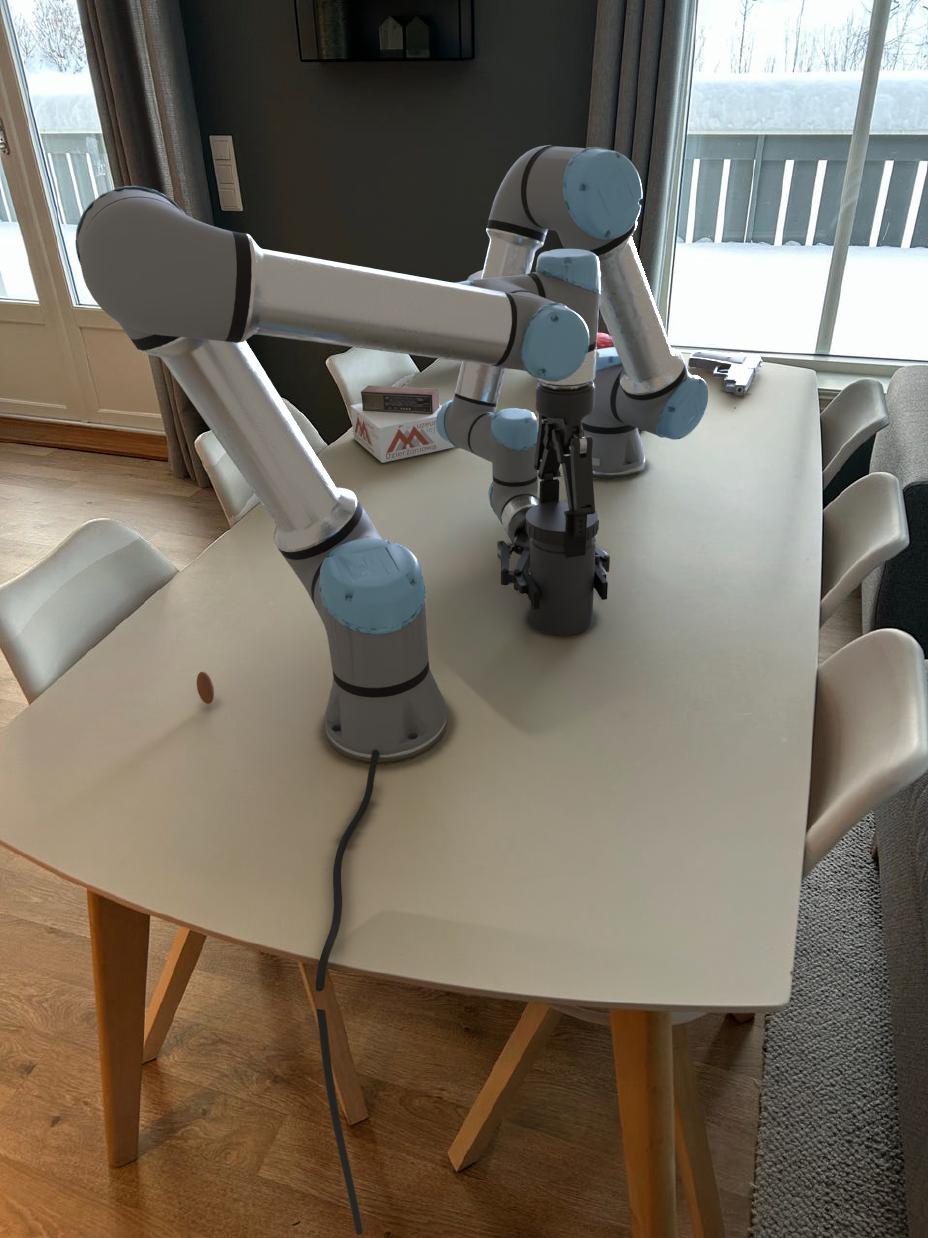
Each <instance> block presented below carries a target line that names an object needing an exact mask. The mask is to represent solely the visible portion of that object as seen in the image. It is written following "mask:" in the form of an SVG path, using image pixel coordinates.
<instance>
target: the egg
mask: <svg viewBox="0 0 928 1238" xmlns="http://www.w3.org/2000/svg"><path fill="white" fill-rule="evenodd" d="M196 689H197V694H198V695H199V698H200V700H201V701H202V702H203V703H204V704H206V705H210V704H211V703H212V702H213V701H214V699H215V688H214V683H213V680H212V679H211V677H210V675H209V674H208V673H207V672H206V671H200V672H199V673H198V674H197V677H196Z"/></svg>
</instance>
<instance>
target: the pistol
mask: <svg viewBox="0 0 928 1238" xmlns="http://www.w3.org/2000/svg"><path fill="white" fill-rule="evenodd" d="M687 363H688V364H687V365H688V366H687V367H689V368H690V369H691V368H693V369H694V368H695V369H701V370H706V371H713V375H712V377H713V378H718V379H719V378H720V379H724V380H723V387H722V388H723V389H722V390H723V391H725V392H726V393H732V394H733V395H735V396H745V395H746V393H747V391H748V390H749V387H750V386H751V384H752V381H753V378H754V377H755V376H756V374H757V372H758V370H759V369H760V368H761V367H762V366H763V363H764V360H763V359H762V357H761V356H758V355H753V354H752V355H751V354H748V353H745V352H740V353H737V354H728V353H722V352H718V351H713V350H704V349H695V350H693V351H692V352H691V354H690V355H689V359H688V362H687Z"/></svg>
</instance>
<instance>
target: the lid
mask: <svg viewBox="0 0 928 1238" xmlns="http://www.w3.org/2000/svg"><path fill="white" fill-rule="evenodd" d="M565 511H569V507H568V500H559V501H551V502H545V503H541V504H538V505H536V506H533V507H532V508H530V509H529V510H528V511H527V513H526V519H525V529H526V532H527V534H528V535H529V536H530V537H531V538H533V539H534V540H536V541H539V542H542V543H546V544H551V545H565V523H566V516H565V515H564V512H565ZM599 528H600V520H599V513H598V511H596V510H595V513H594V514H588V515H587V529H586V541H588V540H590V539H592V538H593V537H594V536H595V537H596V536H597V535H598V532H599V530H600V529H599Z"/></svg>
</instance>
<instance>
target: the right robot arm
mask: <svg viewBox="0 0 928 1238" xmlns="http://www.w3.org/2000/svg"><path fill="white" fill-rule="evenodd" d="M642 199H643V187H642V181H641V178H640V175H639V172H638V170H637V168H636V167H635V165H634V164H633V162H632V161H631V160H630V159H629V158H628V157H627V156H626V155H624V154H623V153H621V152H618V151H615V150H611V149H607V148H604V147H600V146H594V147H593V146H589V147H586V148H585V147H584V148H583V147H571V146H570V147H568V146H558V145H552V144H548V145H541V146H540V145H539V146H537V147H534V148H532V149H530V150H528V151H526V152H525V153H524V154H523V155H521V156H520V157H519V158H518V159H517V160H515V162H514V163H513V164H512V165H511V167H510V168H509V170H508V171H507V172H506V175H505V176H504V178H503V180H502V181H501V183H500V185H499V188H498V189H497V192H496V194H495V197H494V199H493V202H492V205H491V209H490V213H489V216H488V220H487V225H486V230H485V231H486V233H487V236H488V237H489V244H488V248H487V251H486V252H487V253H486V257H485V261H484V265H483V269H482V270H483V274H482V278H481V279H486V278H495V277H505V276H515V275H524V274H529V273H531V270H532V266H533V262H534V259H535V255H536V252H537V251H538V250H539V249H541V248H542V247H543V246H544V244H545V240H546V238H547V237H546V236H547V233H548V231H554V232H556V233H557V235H558V238H559V240H560V242H561V245H562V247H563V249H582V250H587V251H590V252H592V253H594V254H595V255H596V256H597V257H598V259H599V270H600V290H601V293H599V312H600V314H601V317H602V319H603V322H604V325H605V326H606V329H607V331H608V335H609V336H611V339H612V341H613V344H614V346H615V347H611V348H604V349H598V350H596V351H598V353H599V358H598V359H596V371H595V378H594V379H593V380H592V381H593V383H594V384H595V403H594V410H593V411H592V412H591V413H590V414H589V415H586V416H585V417H584V418H583V419H582V421H581V422H582V427H583V430H584V437H590V436H591V437H592V440H593V446H592V467H593V479H594V480H595V479H596V480H618V479H620V480H621V479H626V478H629V477H633V476H636V475H637V474H640V473H641V472H642V471H643V470H644V469H645V465H646V455H645V450H644V446H643V444H642V440H641V435H640V432H641V431H644V432H647V433H649V434H652V435H654V436H657V437H658V438H661V439H663V438H666V439H669V440H675V441H676V440H681V439H685V438H686V437H687V436H688V435H690V434H691V433H692V432H693V431H694V430H695V429H696V428H697V426H698V425H699V424H700V422H701V420H702V419H703V417H704V415H705V411H706V409H707V407H708V404H709V397H710V396H709V394H710V393H709V392H710V391H709V386H708V384H707V382H706V380H704V379H703V378H701V377H700V376H699V375H696V374H694V375H692V374H691V373H690V372H689V370H688V366H687V363H686V361H685V358H684V356H683V354H682V353H681V352H680V351H679V350H678V349H675V348H673V347H671V345H670V343H669V340H668V337H667V334H666V332H665V328H664V326H663V322H662V319H661V316H660V314H659V311H658V309H657V306H656V303H655V300H654V297H653V295H652V292H651V289H650V285H649V282H648V280H647V277H646V275H645V274H646V273H645V271H644V268H643V266H642V263H641V260H640V258H639V255H638V252H637V251H638V250H637V248H636V246H635V243H634V240H633V235H634V234H635V231H636V229H637V226H638V221H637V220H638V217H639V216H640V213H641V209H642V205H641V204H640V200H642ZM506 369H507V368H501V367H496V366H491V365H484V364H477V363H469V362H462V361H461V365H460V367H459V373H458V377H457V381H456V385H455V391H454V395H453V399H451V400H448V401H446V402H445V403H444V404H442V408H441V409H440V411H439V412H438V414H437V417H436V428H437V431H438V433H439V435H440V436H441V437H442V438H443V439H444V440H446V441H448V442H450V443H451V444H452V445H453V446H455V448H457V449H460V450H464V451H466V452H468V453H471V454H473V455H475V456H477V457H479V458H481V459H483V460H486V461H487V462H490V463H491V467H492V468H491V470H492V471H491V472H492V481H491V483H490V486H489V488H488V499H489V504H490V507H491V509H492V510H493V513H494V514H495V516H496V517H497V519H498V520H499V521H500V524H501V525H502V528H503V530H504V532H505V533H506V535H507V536H508V538H509V541H510V543H506V541H504V540H498V541H497V542H496V549H497V550H496V552H497V558H498V560H499V561H500V585H501V586H503V587H505V586H509V584H513V590H514V591H516V592H518V593H519V594H520V595H526V597H527V598H528V600H529V603H530V602H531V604H532V606H533V608H534V609H539V594H540V592H539V590H538V588H537V586H536V584H535V583H534V581H533V579H532V577H531V575H530V536H529V535H528V534H527V532H526V529H525V519H526V513H527V511H528V510H529V509H530V508H532V507H533V506H536V505H538V504H539V477H538V471H539V470H537V471H535V469H534V460H535V452H536V443H537V435H538V419H537V416H536V415H535V413H534V412H533V411H531V410H528V409H525V408H523V409H522V408H517V407H510V408H504V409H500V410H498V411H497V406H498V400H499V397H500V393H501V389H502V385H503V381H504V378H505V374H506ZM569 455H571V454H568V456H569ZM513 553H514V554H516V555H519V558H518V560H517V562H516V564H515V566H514V568H513V570H510V559H511V556H512V555H513ZM610 562H611V556H610V555H609V554H608V553H607V552H606V551H604V550H603V549H601V548H600V547H599V546H597V545H596V546H595V570H594V590H595V592H596V593H597V595H598V596H599V598H600V599H601V601H604V600H608V589H609V582H608V580H607V574H608V573H609V572H610V566H611V565H610V564H611V563H610Z"/></svg>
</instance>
